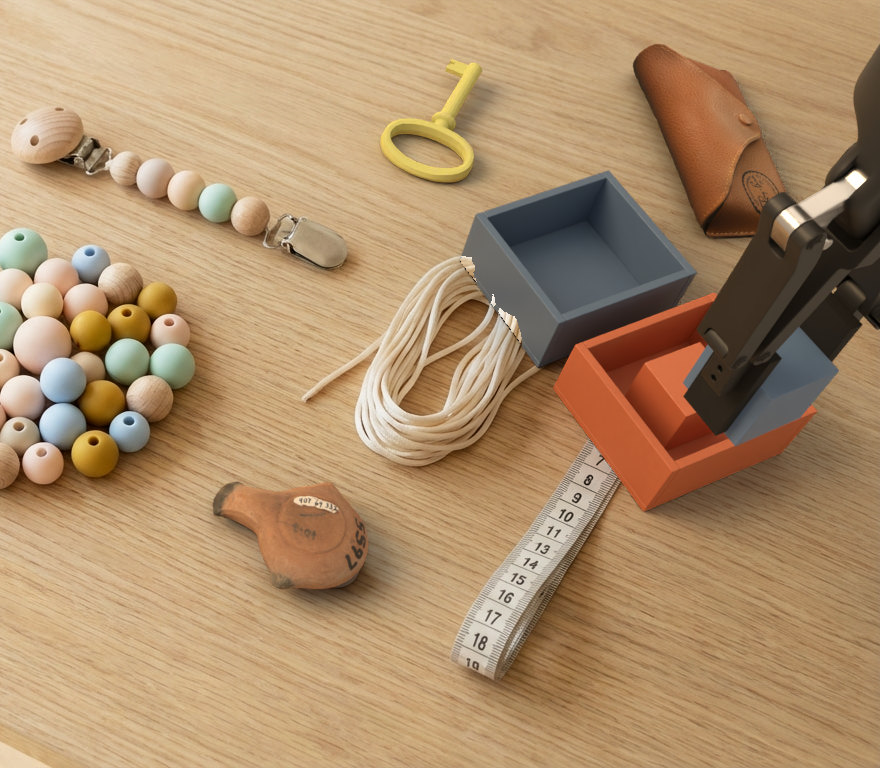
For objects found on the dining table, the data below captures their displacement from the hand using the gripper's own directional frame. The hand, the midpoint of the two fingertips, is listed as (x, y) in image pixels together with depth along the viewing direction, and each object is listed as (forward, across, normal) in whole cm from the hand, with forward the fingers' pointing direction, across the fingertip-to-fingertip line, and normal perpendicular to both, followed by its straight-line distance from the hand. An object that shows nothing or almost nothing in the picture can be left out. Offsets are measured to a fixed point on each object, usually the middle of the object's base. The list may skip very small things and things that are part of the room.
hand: (743, 396), depth 65 cm
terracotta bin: (+14, -6, -6) cm, 16 cm away
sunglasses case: (+14, -25, -25) cm, 38 cm away
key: (+14, -6, -35) cm, 38 cm away
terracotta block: (+14, -6, -6) cm, 16 cm away
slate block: (0, 0, 0) cm, 0 cm away
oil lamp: (+14, +21, -8) cm, 27 cm away
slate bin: (+14, -6, -18) cm, 23 cm away
